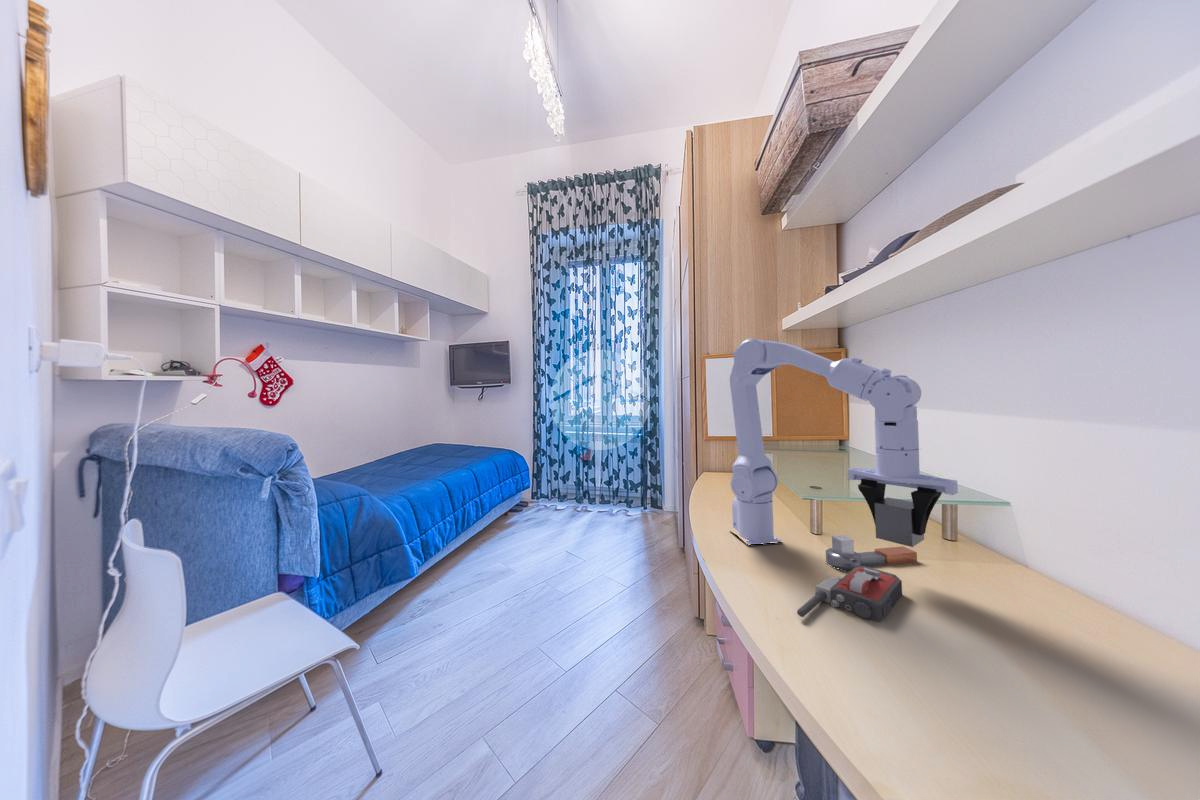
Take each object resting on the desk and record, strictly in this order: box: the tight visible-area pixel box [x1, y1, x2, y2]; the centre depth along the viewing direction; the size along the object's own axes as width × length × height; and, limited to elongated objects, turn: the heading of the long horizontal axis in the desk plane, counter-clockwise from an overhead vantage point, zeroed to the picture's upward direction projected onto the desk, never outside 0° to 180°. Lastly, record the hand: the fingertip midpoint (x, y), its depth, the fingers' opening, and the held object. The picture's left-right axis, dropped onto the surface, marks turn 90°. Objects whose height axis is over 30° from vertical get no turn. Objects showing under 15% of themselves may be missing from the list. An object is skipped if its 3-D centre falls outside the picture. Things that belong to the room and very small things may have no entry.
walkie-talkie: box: [796, 566, 903, 623], centre depth 57 cm, size 9×4×20 cm
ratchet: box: [825, 534, 918, 572], centre depth 70 cm, size 16×6×5 cm, turn 95°
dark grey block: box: [874, 496, 925, 548], centre depth 63 cm, size 5×5×6 cm
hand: (899, 528), depth 63 cm, fingers closed on dark grey block, 5 cm apart
